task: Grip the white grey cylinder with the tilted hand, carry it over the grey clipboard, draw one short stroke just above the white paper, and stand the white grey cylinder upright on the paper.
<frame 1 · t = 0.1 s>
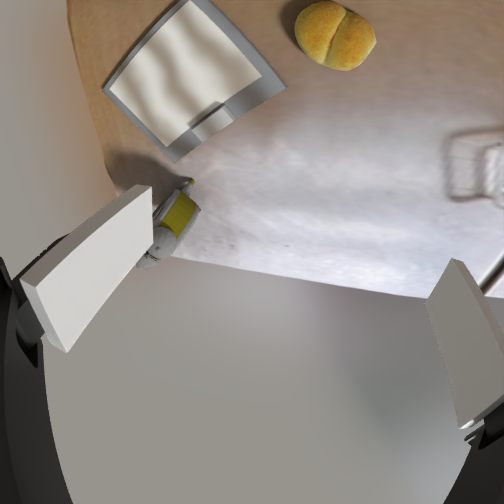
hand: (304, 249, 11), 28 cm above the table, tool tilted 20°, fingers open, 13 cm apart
clipboard: (182, 81, 32), on the table
alarm clock: (187, 198, 50), on the table
bread roll: (335, 34, 23), on the table
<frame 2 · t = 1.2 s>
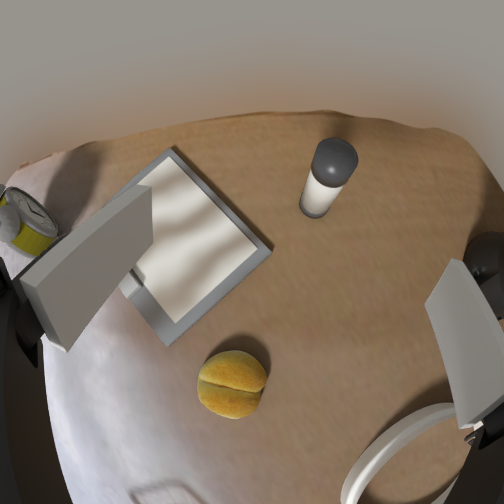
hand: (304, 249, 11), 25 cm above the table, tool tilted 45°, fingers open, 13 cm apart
clipboard: (166, 239, 37), on the table
white grey cylinder: (314, 204, 37), on the table
white hollow ring: (414, 471, 28), on the table
alarm clock: (50, 237, 38), on the table
bread roll: (232, 382, 33), on the table
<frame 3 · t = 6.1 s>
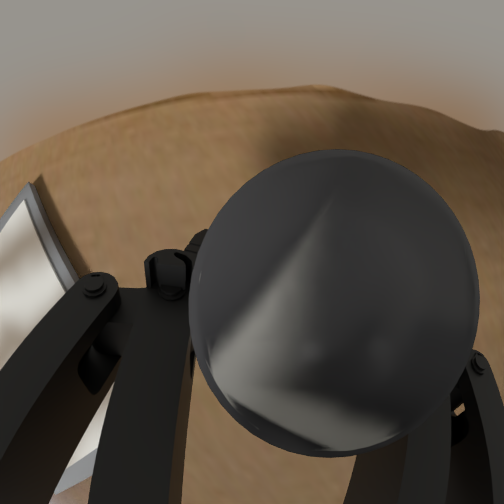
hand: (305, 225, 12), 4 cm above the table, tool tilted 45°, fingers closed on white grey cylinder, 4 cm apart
clipboard: (24, 351, 15), on the table
white grey cylinder: (280, 308, 16), on the table, touching gripper
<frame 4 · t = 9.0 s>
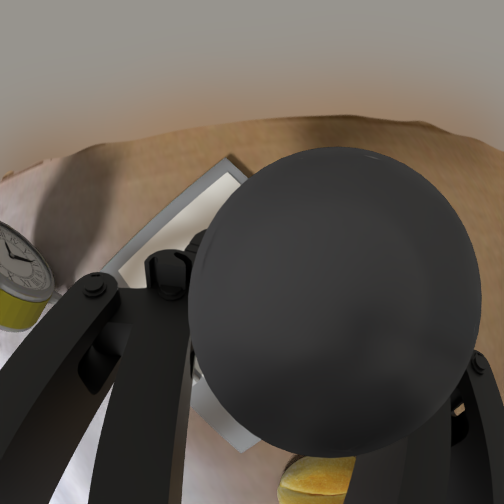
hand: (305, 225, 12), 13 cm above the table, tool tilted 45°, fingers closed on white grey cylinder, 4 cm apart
clipboard: (232, 306, 24), on the table
white grey cylinder: (280, 307, 16), point 9 cm above the table, touching gripper
alarm clock: (44, 286, 26), on the table
bread roll: (318, 479, 21), on the table
when the fingers open (6 cm above the table, at t = 11.9 s): white grey cylinder stays where it is, resting on clipboard.
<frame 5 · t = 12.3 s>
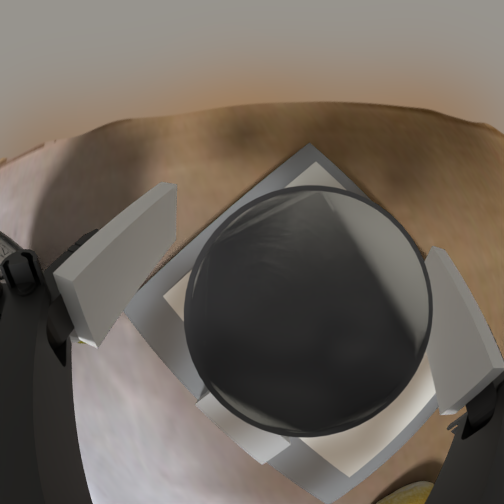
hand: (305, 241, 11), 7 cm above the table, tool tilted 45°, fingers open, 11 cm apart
clipboard: (328, 340, 18), on the table
white grey cylinder: (277, 307, 17), point 1 cm above the table, touching clipboard
alarm clock: (47, 311, 18), on the table
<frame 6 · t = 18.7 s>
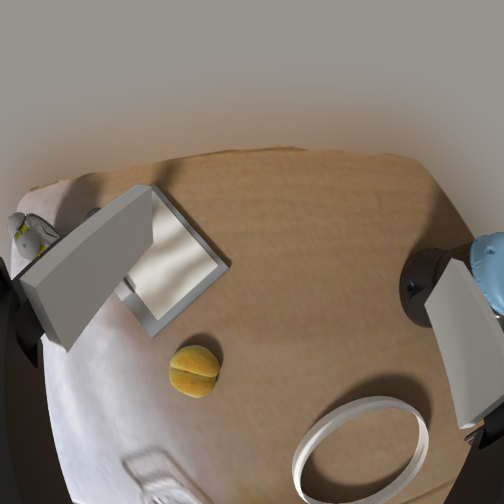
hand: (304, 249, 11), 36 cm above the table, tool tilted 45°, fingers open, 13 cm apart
clipboard: (151, 257, 47), on the table
white hollow ring: (360, 455, 39), on the table
alarm clock: (60, 252, 48), on the table
bread roll: (195, 370, 44), on the table
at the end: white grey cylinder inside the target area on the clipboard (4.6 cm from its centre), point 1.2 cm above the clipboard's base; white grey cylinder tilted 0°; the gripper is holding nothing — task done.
